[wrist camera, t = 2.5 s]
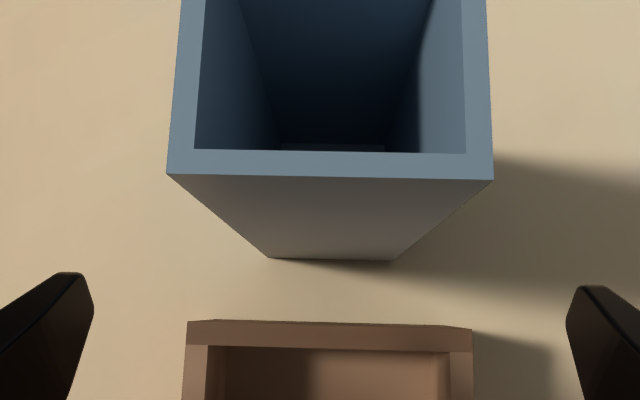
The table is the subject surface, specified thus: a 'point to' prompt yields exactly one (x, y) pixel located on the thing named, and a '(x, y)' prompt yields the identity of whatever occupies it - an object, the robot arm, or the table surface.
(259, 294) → the table surface
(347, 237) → the tall slate-blue crate
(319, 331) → the walnut crate
